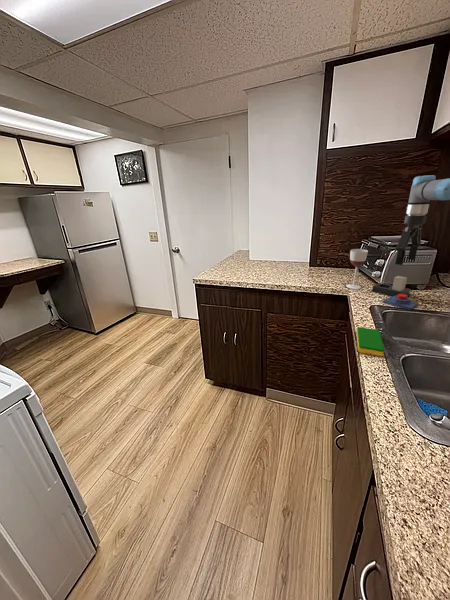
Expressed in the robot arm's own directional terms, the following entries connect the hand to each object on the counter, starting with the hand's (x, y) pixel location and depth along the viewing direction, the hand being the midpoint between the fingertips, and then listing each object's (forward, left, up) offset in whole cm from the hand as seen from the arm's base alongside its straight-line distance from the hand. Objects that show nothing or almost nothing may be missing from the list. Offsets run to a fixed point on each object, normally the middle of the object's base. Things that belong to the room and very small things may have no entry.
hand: (405, 262), depth 117 cm
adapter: (+3, 0, -17) cm, 17 cm away
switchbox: (-6, +11, -17) cm, 21 cm away
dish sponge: (-13, +54, -17) cm, 58 cm away
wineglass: (+20, +4, -17) cm, 27 cm away
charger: (0, 0, -17) cm, 17 cm away
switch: (-6, +11, -14) cm, 19 cm away
